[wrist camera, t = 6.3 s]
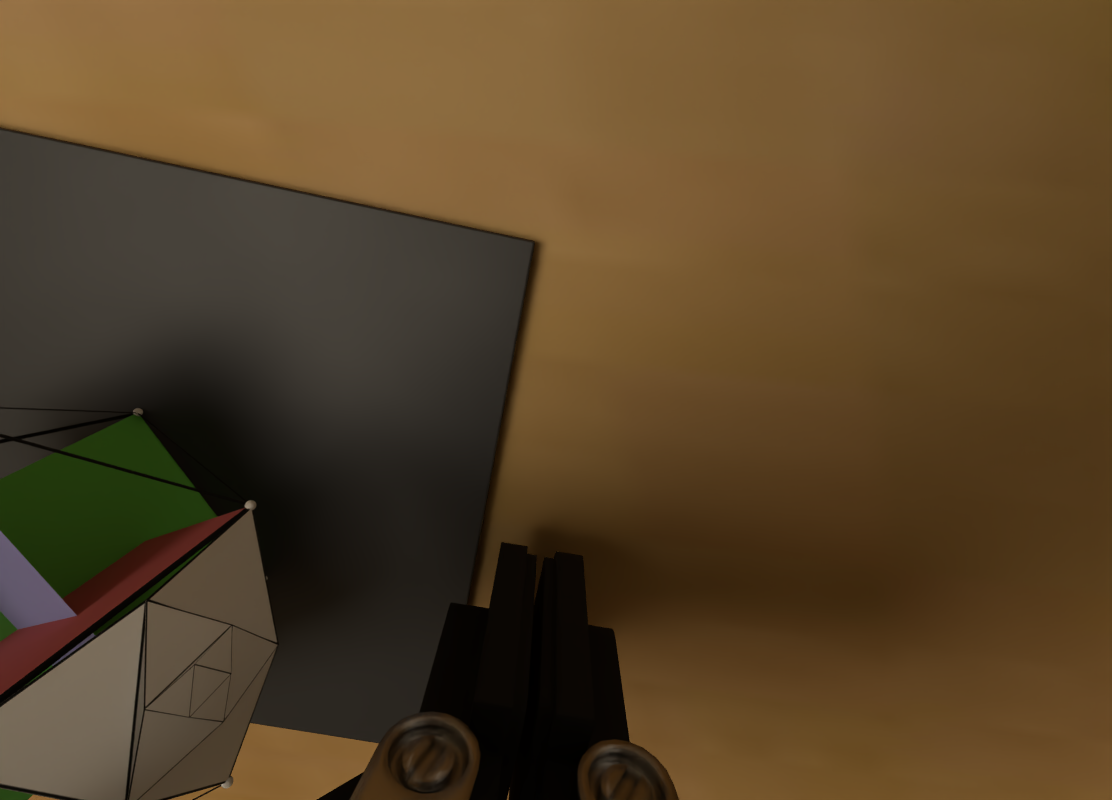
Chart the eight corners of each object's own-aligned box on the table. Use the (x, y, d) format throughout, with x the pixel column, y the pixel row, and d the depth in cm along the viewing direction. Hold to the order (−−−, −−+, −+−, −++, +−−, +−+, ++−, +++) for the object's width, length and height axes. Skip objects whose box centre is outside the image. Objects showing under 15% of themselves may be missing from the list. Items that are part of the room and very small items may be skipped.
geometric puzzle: (-18, 820, 11) (-336, 1441, 4) (-318, 549, 9) (-1640, 919, 3) (313, 577, 15) (417, 726, 8) (142, 342, 13) (83, 271, 6)
